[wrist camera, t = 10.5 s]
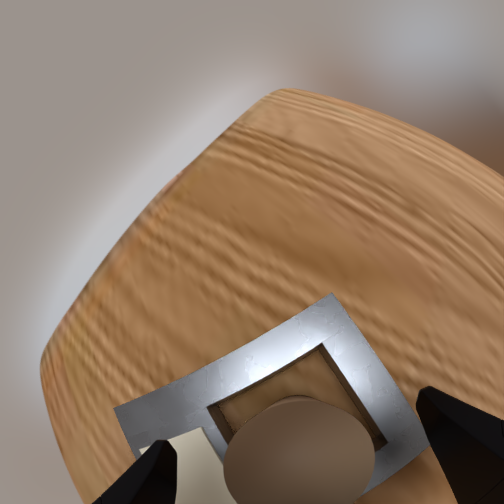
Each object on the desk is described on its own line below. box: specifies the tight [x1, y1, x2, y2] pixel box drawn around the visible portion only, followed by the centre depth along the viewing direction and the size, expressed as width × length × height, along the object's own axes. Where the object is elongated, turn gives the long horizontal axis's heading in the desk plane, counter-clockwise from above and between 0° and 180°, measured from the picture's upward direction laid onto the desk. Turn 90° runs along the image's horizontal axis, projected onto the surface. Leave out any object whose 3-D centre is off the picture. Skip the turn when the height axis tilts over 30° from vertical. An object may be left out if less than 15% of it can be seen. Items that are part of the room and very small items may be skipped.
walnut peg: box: [223, 395, 375, 504], centre depth 10 cm, size 4×4×10 cm
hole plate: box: [113, 293, 430, 504], centre depth 13 cm, size 12×16×3 cm
